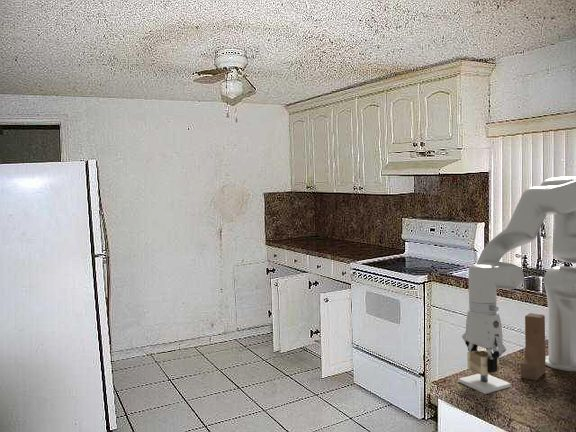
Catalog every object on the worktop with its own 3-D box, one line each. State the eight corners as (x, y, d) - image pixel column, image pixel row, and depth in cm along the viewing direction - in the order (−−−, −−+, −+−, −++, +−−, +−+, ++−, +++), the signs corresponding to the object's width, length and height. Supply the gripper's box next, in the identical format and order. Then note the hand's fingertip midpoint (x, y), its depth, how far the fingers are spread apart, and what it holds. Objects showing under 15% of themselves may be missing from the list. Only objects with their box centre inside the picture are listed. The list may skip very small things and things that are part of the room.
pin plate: (483, 375, 148) (483, 357, 148) (510, 386, 139) (510, 368, 139) (458, 381, 144) (458, 363, 144) (484, 393, 135) (484, 374, 135)
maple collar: (482, 365, 145) (482, 349, 145) (498, 371, 140) (498, 354, 139) (467, 368, 143) (467, 352, 142) (483, 375, 137) (483, 358, 137)
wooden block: (536, 381, 142) (535, 321, 141) (520, 377, 145) (519, 318, 145) (545, 372, 149) (545, 314, 148) (530, 369, 152) (529, 312, 151)
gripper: (516, 311, 134) (517, 375, 135) (469, 300, 150) (470, 357, 150) (497, 315, 131) (497, 380, 132) (451, 303, 147) (452, 361, 147)
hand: (483, 367), depth 141 cm, fingers closed on maple collar, 6 cm apart
